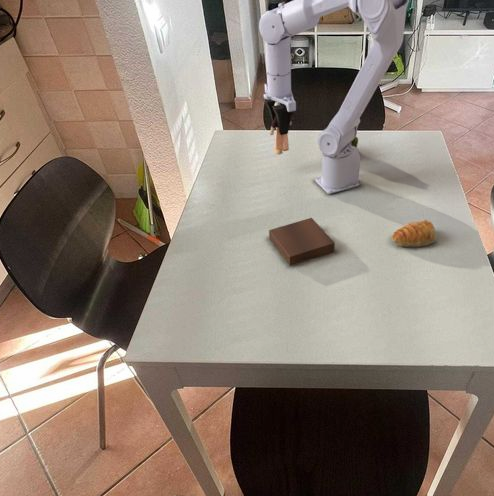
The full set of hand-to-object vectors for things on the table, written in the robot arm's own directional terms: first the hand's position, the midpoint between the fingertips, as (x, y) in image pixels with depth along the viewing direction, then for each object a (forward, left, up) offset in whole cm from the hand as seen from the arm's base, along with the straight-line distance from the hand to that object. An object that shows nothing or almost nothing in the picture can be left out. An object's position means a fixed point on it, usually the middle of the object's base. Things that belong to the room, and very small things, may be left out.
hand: (281, 131), depth 112 cm
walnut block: (+11, +34, -10) cm, 37 cm away
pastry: (-13, +44, -11) cm, 47 cm away
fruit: (-19, 0, -11) cm, 22 cm away
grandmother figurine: (0, 0, -5) cm, 5 cm away
